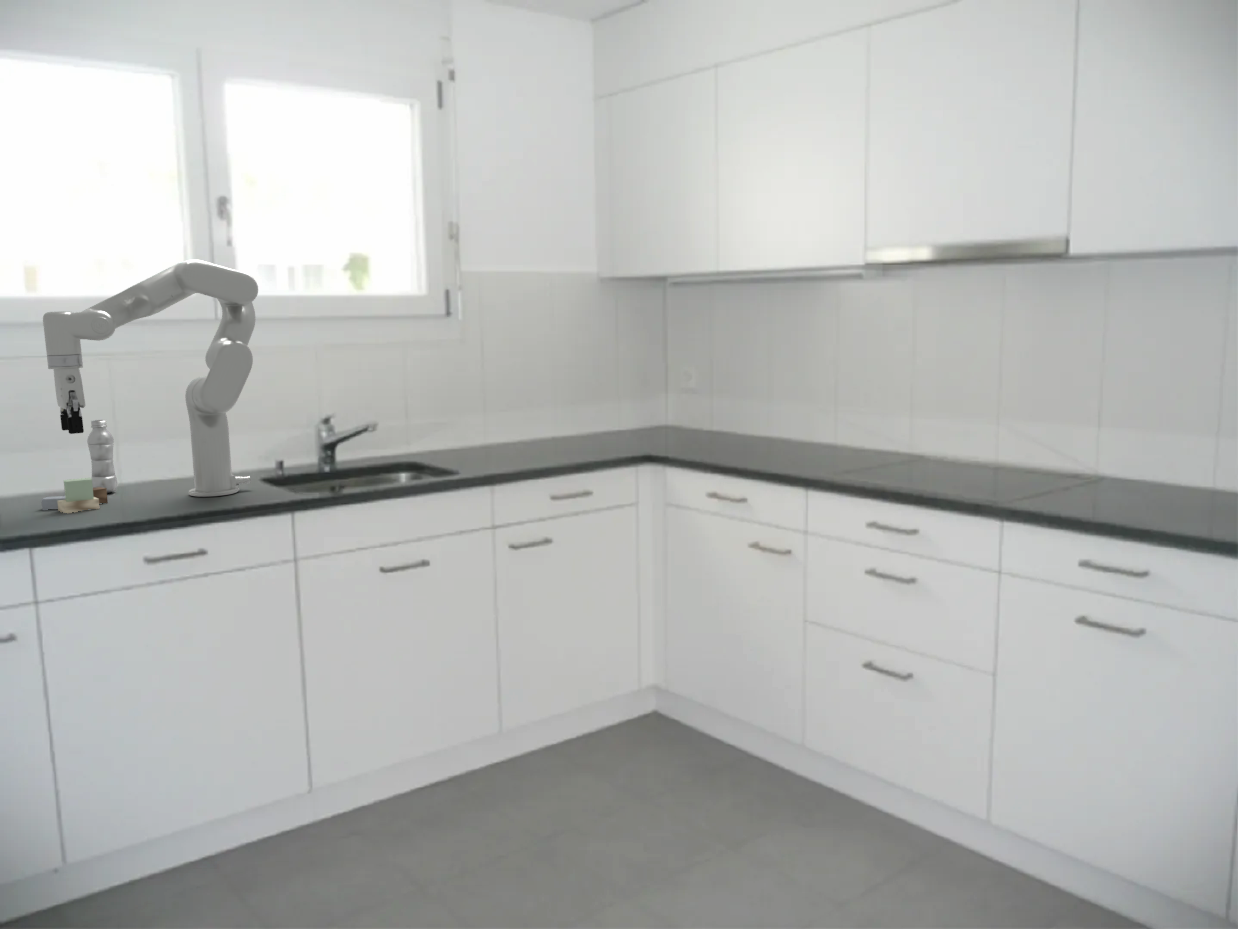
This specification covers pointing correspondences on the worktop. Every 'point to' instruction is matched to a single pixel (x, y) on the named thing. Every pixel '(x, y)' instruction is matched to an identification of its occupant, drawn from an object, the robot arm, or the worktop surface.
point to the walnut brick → (100, 494)
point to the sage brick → (78, 489)
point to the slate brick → (51, 502)
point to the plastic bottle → (102, 456)
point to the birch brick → (77, 505)
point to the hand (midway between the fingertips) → (72, 431)
